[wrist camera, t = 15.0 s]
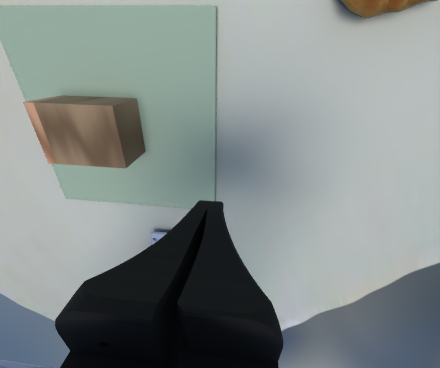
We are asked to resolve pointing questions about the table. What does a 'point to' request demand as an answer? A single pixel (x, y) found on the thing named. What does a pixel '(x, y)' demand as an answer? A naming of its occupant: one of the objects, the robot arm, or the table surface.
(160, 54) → the sage mat
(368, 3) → the pastry
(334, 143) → the table surface
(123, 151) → the walnut block
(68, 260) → the table surface
